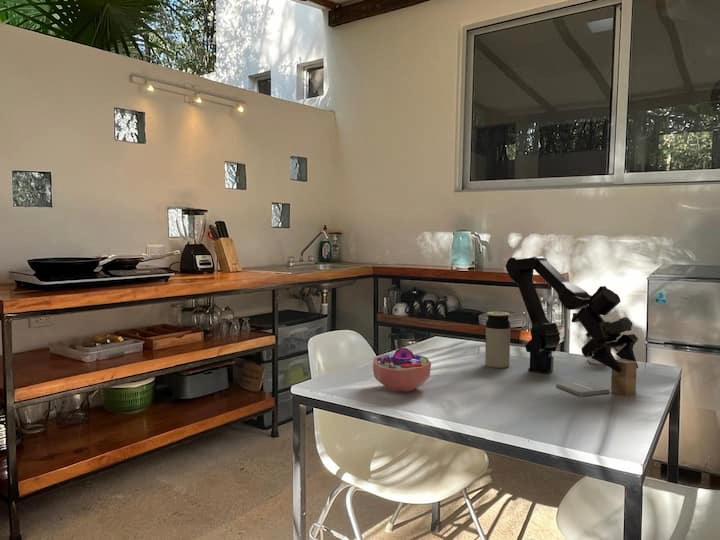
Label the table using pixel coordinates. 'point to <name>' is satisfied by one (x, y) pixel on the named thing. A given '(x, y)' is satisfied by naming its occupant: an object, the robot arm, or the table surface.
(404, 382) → the cell model
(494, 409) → the table surface
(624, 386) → the walnut block
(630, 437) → the table surface
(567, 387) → the coaster
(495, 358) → the travel mug
